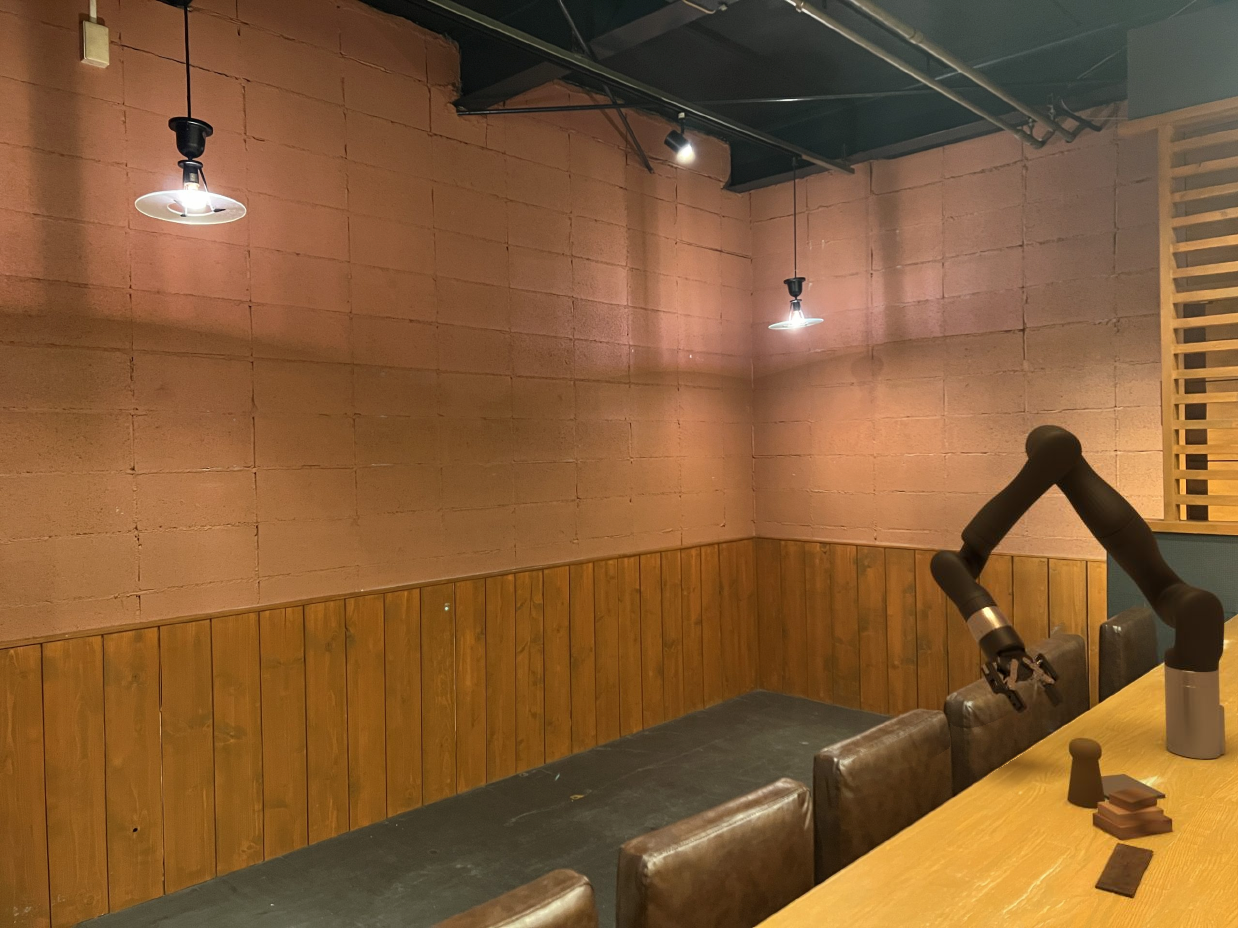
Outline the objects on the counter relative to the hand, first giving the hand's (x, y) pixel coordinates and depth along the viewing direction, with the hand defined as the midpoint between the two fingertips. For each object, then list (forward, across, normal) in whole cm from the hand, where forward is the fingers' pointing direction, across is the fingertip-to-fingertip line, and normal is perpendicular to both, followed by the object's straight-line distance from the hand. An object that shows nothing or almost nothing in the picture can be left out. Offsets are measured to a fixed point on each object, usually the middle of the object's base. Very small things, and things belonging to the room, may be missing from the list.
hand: (1041, 707), depth 165 cm
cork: (+17, 0, +3) cm, 17 cm away
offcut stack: (+24, -2, -5) cm, 25 cm away
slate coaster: (+16, +10, +4) cm, 19 cm away
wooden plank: (+32, -15, -11) cm, 37 cm away
